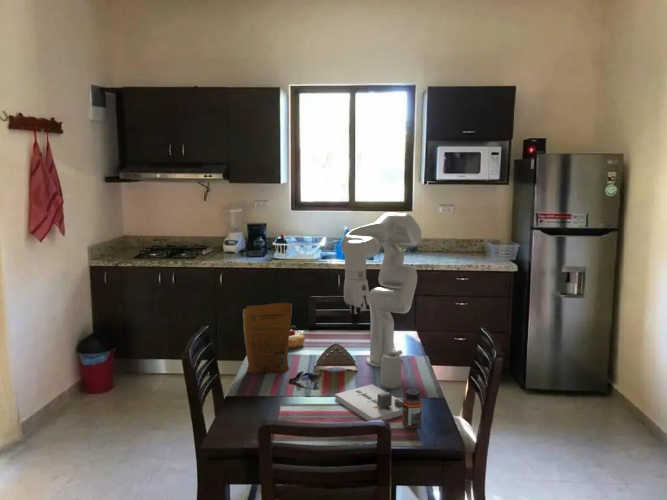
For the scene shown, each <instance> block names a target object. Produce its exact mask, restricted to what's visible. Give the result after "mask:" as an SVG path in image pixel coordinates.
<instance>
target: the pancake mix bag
mask: <svg viewBox="0 0 667 500" xmlns="http://www.w3.org/2000/svg"><path fill="white" fill-rule="evenodd" d="M292 312H293V303H290V302H275V303H268V304H261V305H259V304H258V305H246V306H245V308H243V310H242V320H243V324H242V325H243V326H242V327H243V335H244V345H245V350H246V351H245V352H246V357H247V363H248V366H247V372H248V373H251V374H256V375H257V374H258V375H259V374H271V373H284V372H286V371H288V370H289V369H290V366H289V362H288V361H289V360H288V353H289V349H288V340H289V334H290V329H291V324H292V323H291V322H292V321H291V319H292V316H293V315H292Z"/></svg>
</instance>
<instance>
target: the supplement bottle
mask: <svg viewBox="0 0 667 500" xmlns="http://www.w3.org/2000/svg"><path fill="white" fill-rule="evenodd" d="M405 393H406V394H405V396H404V397H403V398H402V399H403V415H402V425H403V426H404V427H405V428H408V429H418V428H420V427H421V426H422V413H423V412H422V411H423V409H422V408H423V400H422V398H421V397H420V390H417V389H412V388H409V389H407V390H406V391H405Z"/></svg>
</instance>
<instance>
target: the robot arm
mask: <svg viewBox="0 0 667 500" xmlns="http://www.w3.org/2000/svg"><path fill="white" fill-rule="evenodd" d="M421 240H422V229H421V227H420V225H419V224H418V222H417V220H416V219H415V218H414V217H413V216H412V215H410V214H409V213H403V212H402V213H401V212H384V213H383V214H381V215H379V216H378V217H377V218H376V219H375V221H373V222H372V223H369V224H366V225H363V226H359V227H356V228H353V229H351V230H349V232H347V233H346V234H345V235H344V237H343V238H342V240H341V242H340V248H341V249H340V250H341V252H342V253H343V254H344V283H343V301H344V302H345V305H346V306H348V307H349V308H348V309H349V313H350V323H351V324H352V325H359V324H361V322H362V320H361V319H362V318H361V317H362V316H361V315H362V312H365V311H367V306H369V310H370V311H369V313H370V330H369V331H370V333H369V334H370V335H369V336H370V337H369V338H370V340H369V341H370V342H369V344H370V345H369V351H370V353H369V356H367V357H366V363H367V365H369V366H371V367H375V368H381V358H382V357H383V354H385V353H397V354H399V355H400V356H402V355H403V350H402V349H399V350H396V349H394V339H395V338H394V335H395V333H394V332H395V331H394V330H395V321H394V318H393V316H392V314H391V313H394V314H395V313H396V314H407V313H409V311H410V309H411V307H412V304H413V299H414V295H415V292H416V289H417V283H418V273H417V270H416V269H415V268H414V267H412V266H407V265H404V262H405V254H404V252H403V251H402V249H401V248H400V247H399V246H398V245H404V246H405V245H407V246H416V245H418V244H419V243H420V242H421ZM381 244H382V247H383V254H384V255H383V260H382V263H381V265H380V269H379V270H380V271H379V273H378V280H377V281H378V283H379V285H380V286H377V287H374V288H372V289H371V290H370V289H369V283H368V279H367V259H370V258H374V257H376V256H377V255H378V254H379V252H380V250H381ZM381 286H382V287H381Z"/></svg>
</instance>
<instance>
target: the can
mask: <svg viewBox="0 0 667 500" xmlns="http://www.w3.org/2000/svg"><path fill="white" fill-rule="evenodd" d="M380 384H381V386H383V388H385V389H388V390H394V389H398V388H399V387H400V386H401V385H402V358H401V355H399V354H397V353H385V354H383V357H382V358H381V367H380Z"/></svg>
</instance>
